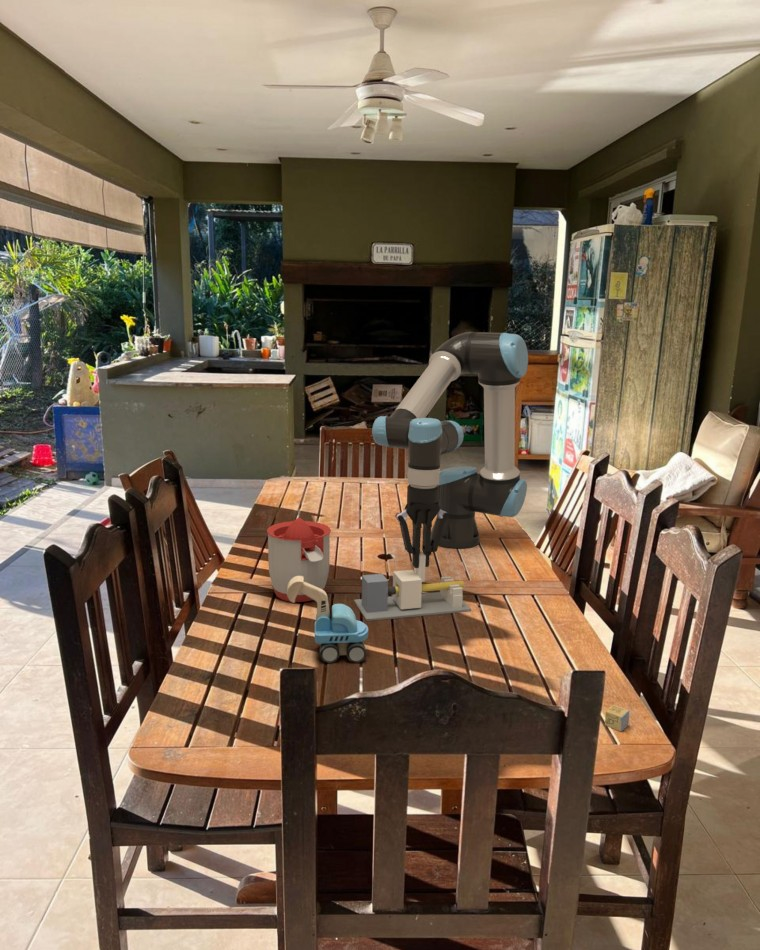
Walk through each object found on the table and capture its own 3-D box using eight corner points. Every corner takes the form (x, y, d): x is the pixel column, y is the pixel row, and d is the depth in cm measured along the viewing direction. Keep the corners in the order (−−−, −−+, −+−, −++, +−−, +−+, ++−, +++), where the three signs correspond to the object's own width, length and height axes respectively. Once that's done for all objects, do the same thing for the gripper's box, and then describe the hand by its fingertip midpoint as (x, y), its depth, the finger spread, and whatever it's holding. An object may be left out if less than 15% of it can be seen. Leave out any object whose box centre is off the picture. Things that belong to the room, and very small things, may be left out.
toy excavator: (288, 646, 161) (287, 569, 157) (366, 644, 162) (367, 569, 159) (286, 664, 153) (286, 584, 149) (369, 663, 154) (370, 584, 150)
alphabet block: (620, 732, 131) (622, 716, 130) (604, 725, 133) (605, 710, 132) (628, 725, 133) (630, 710, 133) (611, 719, 135) (613, 703, 135)
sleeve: (411, 596, 187) (412, 569, 185) (421, 607, 180) (422, 579, 179) (392, 598, 185) (393, 571, 184) (401, 609, 179) (401, 581, 177)
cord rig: (453, 592, 192) (454, 562, 191) (471, 611, 181) (473, 579, 179) (354, 601, 185) (354, 570, 184) (366, 621, 174) (367, 588, 172)
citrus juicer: (287, 614, 177) (286, 532, 173) (257, 590, 192) (256, 514, 187) (345, 601, 185) (346, 523, 181) (312, 579, 200) (312, 506, 195)
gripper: (443, 479, 182) (440, 572, 188) (392, 482, 179) (389, 576, 184) (455, 487, 175) (451, 583, 181) (401, 489, 172) (399, 587, 177)
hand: (420, 579), depth 182 cm, fingers closed
